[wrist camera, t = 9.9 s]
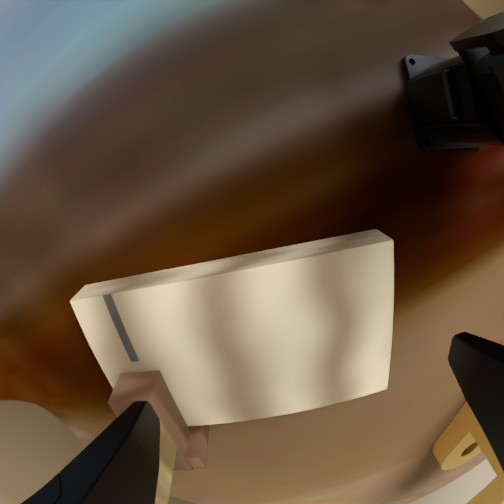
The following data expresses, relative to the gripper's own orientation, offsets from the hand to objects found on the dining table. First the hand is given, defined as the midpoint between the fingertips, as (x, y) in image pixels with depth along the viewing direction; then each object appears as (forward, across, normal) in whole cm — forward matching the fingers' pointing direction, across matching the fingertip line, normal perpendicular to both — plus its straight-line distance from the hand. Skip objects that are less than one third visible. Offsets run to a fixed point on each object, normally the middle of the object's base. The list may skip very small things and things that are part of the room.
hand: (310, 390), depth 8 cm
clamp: (+12, -24, +26) cm, 37 cm away
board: (+12, +3, +6) cm, 14 cm away
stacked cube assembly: (+11, +10, +10) cm, 18 cm away
